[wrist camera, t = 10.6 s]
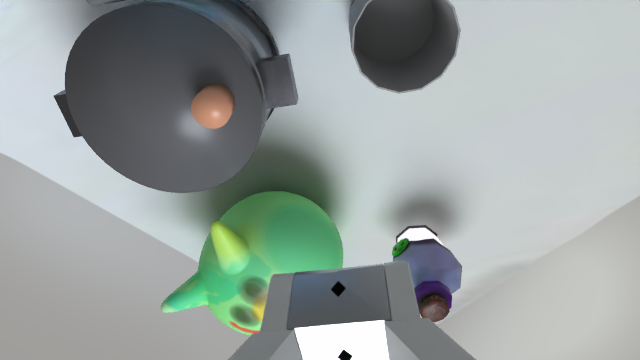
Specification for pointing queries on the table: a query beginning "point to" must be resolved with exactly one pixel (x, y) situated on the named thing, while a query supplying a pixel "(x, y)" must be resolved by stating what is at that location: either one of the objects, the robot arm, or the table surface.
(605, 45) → the table surface
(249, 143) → the lid
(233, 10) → the cooker pot
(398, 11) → the cup
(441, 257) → the potion bottle
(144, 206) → the table surface
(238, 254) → the toy bird
